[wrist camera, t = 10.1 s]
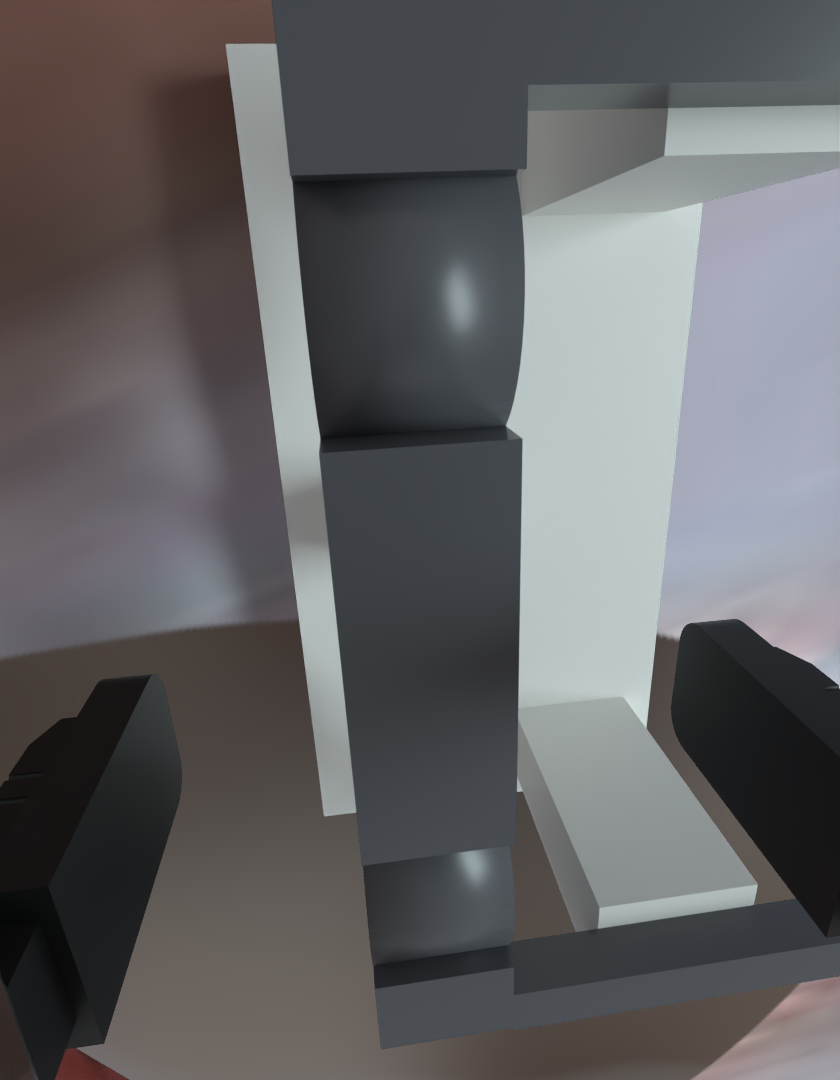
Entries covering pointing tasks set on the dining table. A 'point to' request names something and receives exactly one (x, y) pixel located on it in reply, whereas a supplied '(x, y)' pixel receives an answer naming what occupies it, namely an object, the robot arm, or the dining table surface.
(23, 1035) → the robot arm
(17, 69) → the dining table surface
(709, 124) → the display stand
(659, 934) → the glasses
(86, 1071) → the plant saucer
